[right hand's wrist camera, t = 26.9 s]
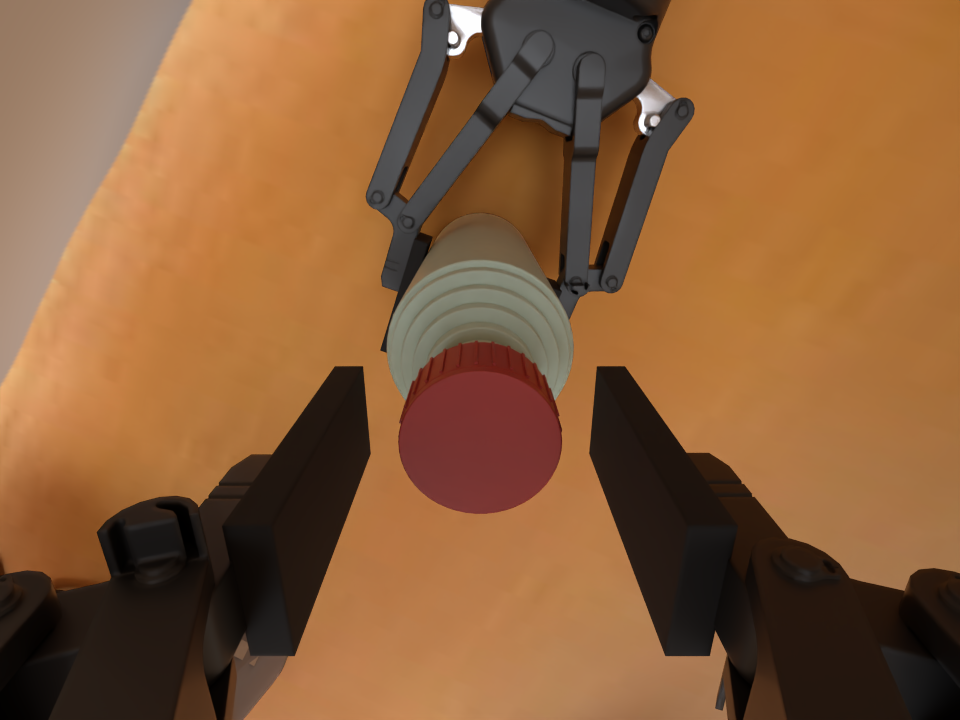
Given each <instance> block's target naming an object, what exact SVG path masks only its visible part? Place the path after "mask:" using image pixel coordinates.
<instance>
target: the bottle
mask: <svg viewBox="0 0 960 720" xmlns="http://www.w3.org/2000/svg"><path fill="white" fill-rule="evenodd" d="M475 341H478V342H488V343H491V341H493V342H495V344H499V345H503V346H506V347H507V346H510V347H511V349H513V350H515V351H517V352H519V353H524V354H525V357H526V358H528V359H529V360H530V361H531V362H532V363H534V362H535V363H536V364H537V367H538V370H539V371H540V372H541V374H542V375H545V376H546V379H547V383H548V386H549V388H551V390H552V393H553V397H554V400H556V398H557V397H558V395H559V394H560V392H561V390H562V389H563V387H564V385H565V383H566V381H567V378H568V375H569V372H570V369H571V365H572V360H573V348H574V344H573V334H572V329H571V325H570V322H569V319H568V316H567V314H566V311H565V310H564V308H563V306H562V304H561V302H560V301H559V299H558V297H557V295H556V294H555V292H554V290H553V288H552V287H551V285H550V283H549V281H548V280H547V278H546V276H545V275H544V273H543V271H542V269H541V268H540V266H539V264H538V262H537V261H536V259H535V257H534V255H533V254H532V252H531V250H530V248H529V247H528V245H527V243H526V241H525V240H524V238H523V236H522V235H521V233H520V232H519V231H518V230H517V229H516V228H515V227H514V226H513V225H512V224H511V223H509V222H508V221H506V220H505V219H503V218H501V217H498V216H496V215H492V214H487V213H473V214H468V215H465V216H462V217H459V218H457V219H455V220H454V221H452V222H451V223H449V224H448V225H447V226H446V227H445V228H444V229H443V230H442V231H441V232H440V234H439V235H438V237H437V238H436V240H435V242H434V243H433V245H432V247H431V249H430V250H429V252H428V254H427V256H426V257H425V259H424V261H423V263H422V264H421V266H420V268H419V270H418V271H417V273H416V275H415V277H414V278H413V280H412V282H411V284H410V285H409V287H408V289H407V290H406V292H405V294H404V296H403V297H402V299H401V301H400V303H399V304H398V306H397V308H396V310H395V312H394V314H393V317H392V320H391V323H390V326H389V331H388V336H387V358H388V364H389V368H390V372H391V375H392V377H393V380H394V382H395V384H396V386H397V388H398V390H399V392H400V393H401V395H402V396H403V398H404V399H405V401H406V399H407V396H408V393H409V390H410V386H411V383H412V381H415V380H416V378H417V376H418V372H419V369H420V368H422V369H423V367H424V366H425V365H426V364H427V363H428V362H429V360H430V358H431V357H433V358H434V357H435V356H437V355H438V354H440V353H441V352H443V349H445V348H446V349H449V348H452V347H454V346H457V345H458V343H462V344H465V343H471V342H475Z"/></svg>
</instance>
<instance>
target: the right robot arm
mask: <svg viewBox="0 0 960 720" xmlns="http://www.w3.org/2000/svg"><path fill="white" fill-rule="evenodd" d="M370 454H371V452H370V441H369V429H368V418H367V407H366V395H365V384H364V372H363V366H335V367H334V369H333V370H332V371H331V373H330V374H329V376H328V377H327V378H326V380H325V381H324V383H323V384H322V386H321V387H320V388H319V390H318V391H317V393H316V394H315V395H314V397H313V398H312V400H311V401H310V402H309V404H308V405H307V407H306V408H305V409H304V411H303V412H302V414H301V415H300V416H299V418H298V419H297V421H296V422H295V424H294V425H293V426H292V428H291V429H290V431H289V432H288V433H287V435H286V436H285V438H284V439H283V440H282V442H281V443H280V445H279V446H278V447H277V449H276V450H275V452H274V453H273V455H250V456H248V457H247V458H245V459H244V460H242V461H241V462H239V463H238V464H236V465H235V466H233V467H232V468H231V469H230V470H229V471H228V472H227V474H226V475H225V476H224V477H223V478H222V480H221V481H220V482H219V486H216V487H215V488H214V490H213V491H212V492H211V493H210V494H209V498H208V499H205V501H204V502H203V503H202V504H201V505H200V507H199V508H198V505H197V504H196V503H195V502H194V501H192V500H191V499H190V498H185V497H180V496H168V497H158V498H154V499H150V500H146V501H143V502H139V503H137V504H135V505H133V506H130V507H128V508H126V509H124V510H122V511H120V512H119V513H117V514H116V515H114V516H113V517H111V518H110V519H108V520H107V521H106V522H105V523H104V524H103V526H102V527H101V528H100V529H99V530H98V531H97V535H98V538H99V541H100V544H101V547H102V550H103V553H104V556H105V559H106V562H107V565H108V568H109V571H110V574H111V579H110V581H107V582H103V583H99V584H95V585H90V586H86V587H81V588H77V589H72V590H68V591H62V590H55V589H54V586H53V583H52V581H51V578H50V577H48V576H47V575H46V574H44V573H43V572H38V571H21V572H15V573H9V574H5V575H2V576H0V720H243V719H244V718H245V717H246V716H247V715H248V713H249V712H250V711H251V710H252V708H253V707H254V706H255V705H256V703H257V702H258V701H259V700H260V698H261V697H262V696H263V695H264V694H265V692H266V691H267V690H268V689H269V687H270V686H271V685H272V684H273V682H274V681H275V680H276V678H277V677H278V675H279V674H280V673H281V671H282V669H283V667H284V665H285V662H286V660H287V657H288V656H295V654H296V651H297V648H298V646H299V643H300V640H301V638H302V635H303V632H304V630H305V627H306V624H307V622H308V619H309V616H310V614H311V611H312V608H313V606H314V603H315V600H316V598H317V595H318V592H319V590H320V587H321V584H322V582H323V579H324V576H325V574H326V571H327V568H328V566H329V563H330V560H331V558H332V555H333V552H334V550H335V547H336V544H337V542H338V539H339V536H340V534H341V531H342V529H343V526H344V523H345V521H346V518H347V515H348V513H349V510H350V507H351V505H352V502H353V499H354V497H355V494H356V491H357V489H358V486H359V483H360V481H361V478H362V475H363V473H364V470H365V467H366V465H367V462H368V459H369V457H370ZM589 454H590V457H591V459H592V462H593V465H594V467H595V470H596V473H597V475H598V478H599V481H600V483H601V486H602V489H603V491H604V494H605V497H606V499H607V502H608V505H609V507H610V510H611V513H612V515H613V518H614V521H615V523H616V526H617V529H618V531H619V534H620V536H621V539H622V542H623V544H624V547H625V550H626V552H627V555H628V558H629V560H630V563H631V566H632V568H633V571H634V574H635V576H636V579H637V582H638V584H639V587H640V590H641V592H642V595H643V598H644V600H645V603H646V606H647V608H648V611H649V614H650V616H651V619H652V622H653V624H654V627H655V630H656V632H657V635H658V638H659V640H660V643H661V646H662V648H663V651H664V654H665V656H710V652H711V647H712V643H713V638H714V634H715V631H716V633H717V635H718V636H719V638H720V640H721V642H722V644H723V646H724V648H725V650H726V652H727V657H726V661H725V665H724V669H723V673H722V678H721V682H720V686H719V690H718V695H717V700H716V707H715V708H716V709H719V710H722V711H723V707H724V703H725V698H726V707H727V716H728V720H960V573H957V572H953V571H947V570H942V569H936V568H931V569H920V570H918V571H916V572H915V573H914V574H912V575H911V576H910V578H909V581H908V583H907V586H906V589H905V591H903V590H898V589H894V588H889V587H884V586H880V585H875V584H871V583H866V582H862V581H858V580H854V579H851V578H849V576H848V575H847V573H846V572H845V571H844V569H843V568H842V566H841V565H840V564H839V563H838V562H836V561H835V560H834V559H833V558H831V557H830V556H829V555H828V554H826V553H825V552H823V551H821V550H819V549H817V548H815V547H813V546H811V545H809V544H807V543H803V542H800V541H797V540H793V539H790V538H788V537H787V536H786V535H785V534H784V532H783V531H782V530H781V529H780V527H779V526H778V525H777V524H776V523H775V521H774V520H773V519H772V518H771V517H770V515H769V514H768V513H767V512H766V510H765V509H764V508H763V507H762V506H761V504H760V503H759V502H758V501H757V499H756V498H755V497H752V493H751V492H750V491H749V490H748V488H747V487H746V486H745V485H744V484H742V483H741V480H740V479H739V478H738V476H737V475H736V474H735V473H734V471H733V470H732V469H731V468H730V467H729V466H728V465H727V464H725V463H724V462H722V461H721V460H719V459H718V458H716V457H714V456H713V455H711V454H710V453H686V452H685V450H684V449H683V447H682V446H681V445H680V443H679V442H678V440H677V439H676V438H675V436H674V435H673V433H672V432H671V431H670V429H669V428H668V426H667V425H666V424H665V422H664V421H663V419H662V418H661V416H660V415H659V414H658V412H657V411H656V409H655V408H654V407H653V405H652V404H651V402H650V401H649V400H648V398H647V397H646V395H645V394H644V393H643V391H642V390H641V388H640V387H639V386H638V384H637V383H636V381H635V380H634V378H633V377H632V376H631V374H630V373H629V371H628V370H627V369H626V367H625V366H597V372H596V384H595V395H594V407H593V418H592V429H591V441H590V452H589Z"/></svg>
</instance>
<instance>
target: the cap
mask: <svg viewBox="0 0 960 720" xmlns="http://www.w3.org/2000/svg"><path fill="white" fill-rule="evenodd" d="M558 416H559V413H558V409H557V406H556V403H555V400H554V397H553V393H552V390H551V388H549V386H548V383H547V379H546V376H545V375H542V374H541V372H540V371H539V370H538V367H537V364H536V363H535V362H534V363H532V362H531V361H530V360H529V359H528V358H526V357H525V354H524V353H519V352H517V351H515V350H513V349H511V347H510V346H507V347H506V346H503V345H499V344H495V342H493V341H491V343H488V342H478V341H475V342H471V343H465V344H462V343H458V345H457V346H454V347H452V348H449V349H446V348H445V349H443V352H441V353H440V354H438V355H437V356H435V357H434V358H433V357H431V358H430V360H429V362H428V363H427V364H426V365H425V366H424V367H423V369H422V368H420V369H419V372H418V376H417V378H416V380H415V381H412V383H411V386H410V390H409V393H408V396H407V399H406V402H405V405H404V408H403V412H402V415H401V418H400V422H399V423H401V426H400V431H399V436H398V437H399V440H398V443H399V453H400V457H401V461H402V464H403V466H404V469H405V471H406V473H407V474H408V476H409V478H410V479H411V481H412V482H413V483H414V485H415V486H416V487H417V488H418V489H419V490H420V491H421V492H422V493H423V494H425V495H426V496H427V497H428V498H430V499H431V500H433V501H435V502H436V503H438V504H440V505H442V506H445V507H447V508H450V509H453V510H456V511H460V512H465V513H474V514H487V513H495V512H500V511H504V510H508V509H511V508H513V507H516V506H518V505H520V504H522V503H524V502H526V501H527V500H529V499H530V498H532V497H533V496H534V495H536V494H537V493H538V492H539V491H540V490H541V489H542V488H543V487H544V486H545V485H546V484H547V482H548V481H549V480H550V478H551V477H552V475H553V473H554V471H555V470H556V468H557V465H558V462H559V459H560V455H561V449H562V436H561V432H562V428H561V425H560V421H559V418H558Z"/></svg>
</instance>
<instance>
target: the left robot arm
mask: <svg viewBox="0 0 960 720" xmlns="http://www.w3.org/2000/svg"><path fill="white" fill-rule="evenodd" d="M670 1H671V0H489V1H488V2H487V3H486V5H485V7H484V8H478V7H470V6H462V5H453V4H449V3H448V1H447V0H426V1H425V3H424V7H423V23H422V42H421V52H420V55H419V57H418V60H417V63H416V65H415V68H414V70H413V73H412V75H411V78H410V81H409V83H408V86H407V88H406V91H405V94H404V96H403V99H402V101H401V104H400V107H399V109H398V112H397V114H396V117H395V120H394V122H393V125H392V127H391V130H390V133H389V135H388V138H387V140H386V143H385V146H384V148H383V151H382V153H381V156H380V159H379V161H378V164H377V166H376V169H375V172H374V174H373V177H372V179H371V182H370V185H369V187H368V190H367V193H366V200H367V203H368V204H369V206H371V207H372V208H373V209H377V210H378V211H379V212H381V213H382V214H383V215H384V216H386V217H387V218H388V219H389V220H390V221H391V223H392V225H393V230H394V232H393V237H392V241H391V244H390V247H389V251H388V254H387V258H386V261H385V265H384V268H383V272H382V275H381V280H382V286H383V287H386V288H389V289H392V290H395V291H398V294H397V297H396V301H395V304H394V307H393V310H392V314H391V317H390V320H389V324H388V327H387V330H386V333H385V337H384V340H383V343H382V347H381V350H380V351H383V352H386V353H387V336H388V331H389V326H390V323H391V320H392V317H393V314H394V312H395V310H396V308H397V306H398V304H399V303H400V301H401V299H402V297H403V296H404V294H405V292H406V290H407V289H408V287H409V285H410V284H411V282H412V280H413V278H414V277H415V275H416V273H417V271H418V270H419V268H420V266H421V264H422V263H423V261H424V259H425V257H426V256H427V253H428V250H429V247H430V244H431V241H432V236H429V235H426V234H424V233H421V232H420V231H421V227H422V225H423V223H424V222H425V221H426V219H427V218H428V217H429V215H430V214H431V213H432V211H433V210H434V209H435V208H436V206H437V205H438V204H439V202H440V201H441V200H442V198H443V197H444V196H445V194H446V193H447V192H448V190H449V189H450V188H451V187H452V185H453V184H454V183H455V181H456V180H457V179H458V177H459V176H460V175H461V173H462V172H463V171H464V170H465V168H466V167H467V166H468V164H469V163H470V162H471V160H472V159H473V158H474V156H475V155H476V154H477V153H478V151H479V150H480V149H481V147H482V146H483V145H484V143H485V142H486V141H487V139H488V138H489V137H490V136H491V134H492V133H493V132H494V130H495V129H496V128H497V127H498V125H499V124H500V123H501V121H502V120H503V119H504V117H505V116H506V115H507V113H508V114H509V116H510V117H513V118H515V119H518V120H520V121H525V122H536V123H539V124H540V125H541V126H543V127H544V128H545V129H547V130H548V131H549V132H551V133H553V134H556V135H558V136H561V137H563V138H564V144H563V156H564V173H563V193H562V214H561V235H560V255H559V277H558V279H557V282H556V281H555V280H552V279H549V278H547V280H548V281H549V283H550V285H551V287H552V288H553V290H554V292H555V294H556V295H557V297H558V299H559V301H560V302H561V304H562V306H563V308H564V310H565V311H566V314H567V316H568V319H570V317H571V315H572V312H573V310H574V308H575V305H576V303H577V301H578V299H579V297H581V296H584V295H585V294H586V293H587V292H590V291H605V292H607V293H615V292H617V291H618V290H619V289H620V288H621V287H622V285H623V282H624V279H625V276H626V273H627V270H628V267H629V264H630V261H631V258H632V256H633V253H634V250H635V247H636V244H637V241H638V238H639V235H640V232H641V229H642V226H643V223H644V220H645V218H646V215H647V212H648V209H649V206H650V203H651V200H652V197H653V194H654V191H655V188H656V185H657V182H658V179H659V177H660V174H661V171H662V168H663V165H664V162H665V159H666V156H667V153H668V150H669V149H670V148H671V146H672V145H673V144H674V142H675V141H676V139H677V138H678V137H679V135H680V134H681V133H682V131H683V130H684V129H685V127H686V126H687V124H688V123H689V122H690V120H691V119H692V117H693V115H694V109H695V108H694V104H693V103H692V101H691V100H690V99H688V98H679V99H675V98H674V97H673V96H671V95H670V94H669V93H668V92H666V91H665V90H664V89H663V88H661V87H660V86H659V85H658V84H656V83H655V82H654V81H653V80H651V79H650V77H651V52H652V46H653V43H654V40H655V37H656V35H657V33H658V30H659V28H660V25H661V23H662V20H663V18H664V16H665V13H666V11H667V8H668V6H669V3H670ZM476 37H482V40H483V44H484V48H485V52H486V56H487V60H488V64H489V68H490V72H491V76H492V80H493V84H494V86H493V87H492V89H491V90H490V91H489V93H488V94H487V95H486V97H485V98H484V99H483V101H482V102H481V103H480V105H479V106H478V108H477V110H476V111H475V113H474V114H473V115H472V117H471V118H470V119H469V121H468V122H467V123H466V125H465V126H464V127H463V129H462V130H461V131H460V133H459V134H458V135H457V137H456V138H455V140H454V141H453V142H452V144H451V145H450V146H449V148H448V149H447V150H446V152H445V153H444V154H443V156H442V157H441V158H440V160H439V161H438V162H437V164H436V165H435V166H434V168H433V169H432V170H431V172H430V173H429V175H428V176H427V177H426V179H425V180H424V181H423V183H422V184H421V185H420V187H419V188H418V189H417V191H416V192H415V193H414V195H413V196H412V197H411V199H410V200H409V201H408V200H407V199H406V198H405V197H403V196H402V195H401V194H400V193H399V191H400V189H401V186H402V184H403V181H404V179H405V176H406V174H407V171H408V169H409V167H410V164H411V162H412V159H413V157H414V154H415V152H416V149H417V147H418V144H419V142H420V139H421V137H422V135H423V132H424V130H425V127H426V125H427V122H428V120H429V117H430V115H431V112H432V110H433V108H434V105H435V103H436V100H437V98H438V95H439V93H440V90H441V88H442V85H443V83H444V80H445V77H446V74H447V71H448V67H449V62H450V59H458V58H461V57H462V56H463V55H464V53H465V51H466V48H467V45H468V43H469V42H470V41H471V40H472V39H473V38H476ZM631 100H633V101H634V102H635V104H636V107H637V114H636V116H635V119H634V122H633V127H634V130H635V132H636V133H637V134H638V136H637V138H636V139H635V141H634V143H633V145H632V148H631V150H630V153H629V156H628V159H627V162H626V165H625V168H624V172H623V175H622V178H621V181H620V184H619V187H618V190H617V194H616V197H615V200H614V203H613V206H612V209H611V213H610V216H609V219H608V222H607V225H606V228H605V231H604V235H603V238H602V241H601V244H600V247H599V250H598V254H597V257H596V260H595V263H594V265H589V253H590V239H591V224H592V210H593V195H594V181H595V166H596V158H597V155H598V151H599V140H600V126H601V122H602V121H603V120H605V119H606V118H607V117H609V116H610V115H612V114H613V113H614V112H616V111H617V110H619V109H620V108H621V107H623V106H624V105H626V104H627V103H628V102H630V101H631Z"/></svg>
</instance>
